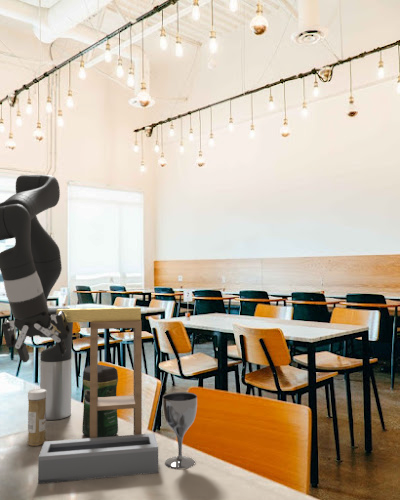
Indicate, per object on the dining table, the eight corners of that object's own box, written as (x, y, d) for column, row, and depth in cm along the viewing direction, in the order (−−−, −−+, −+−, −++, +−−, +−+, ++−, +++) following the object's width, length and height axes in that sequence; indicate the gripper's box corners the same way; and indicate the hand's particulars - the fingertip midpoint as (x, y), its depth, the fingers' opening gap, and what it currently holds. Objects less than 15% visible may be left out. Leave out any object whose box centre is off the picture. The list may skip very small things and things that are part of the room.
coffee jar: (123, 434, 122) (123, 365, 123) (99, 442, 116) (99, 370, 117) (101, 426, 128) (101, 361, 130) (77, 434, 122) (77, 365, 123)
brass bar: (57, 321, 110) (58, 309, 110) (140, 319, 114) (140, 307, 114) (56, 322, 107) (56, 310, 107) (140, 320, 111) (140, 308, 111)
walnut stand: (91, 448, 112) (91, 319, 114) (139, 444, 114) (139, 318, 116) (89, 461, 104) (90, 322, 106) (141, 457, 107) (141, 321, 108)
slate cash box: (44, 466, 102) (44, 441, 102) (154, 456, 107) (154, 433, 107) (38, 483, 93) (38, 456, 94) (158, 472, 98) (158, 446, 98)
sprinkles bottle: (48, 444, 116) (48, 390, 116) (29, 447, 113) (30, 393, 114) (43, 438, 119) (44, 387, 120) (25, 442, 117) (26, 389, 118)
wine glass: (184, 472, 98) (184, 402, 99) (155, 465, 102) (155, 397, 103) (203, 460, 105) (203, 394, 105) (176, 453, 109) (175, 390, 110)
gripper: (61, 282, 104) (78, 345, 108) (1, 292, 104) (20, 354, 109) (51, 295, 96) (70, 361, 101) (-13, 305, 97) (8, 371, 101)
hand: (44, 357), depth 105 cm, fingers open, 8 cm apart
